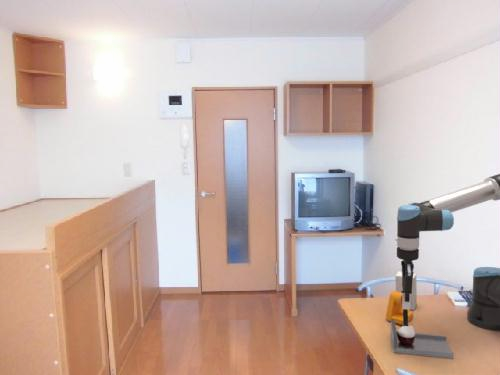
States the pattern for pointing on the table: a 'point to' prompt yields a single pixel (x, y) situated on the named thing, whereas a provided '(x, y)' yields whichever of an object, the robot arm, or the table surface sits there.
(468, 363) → the table surface
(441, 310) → the table surface
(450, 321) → the table surface
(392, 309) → the bracket
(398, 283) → the skincare box
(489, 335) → the table surface
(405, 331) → the cocoa
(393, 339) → the grey dustpan
